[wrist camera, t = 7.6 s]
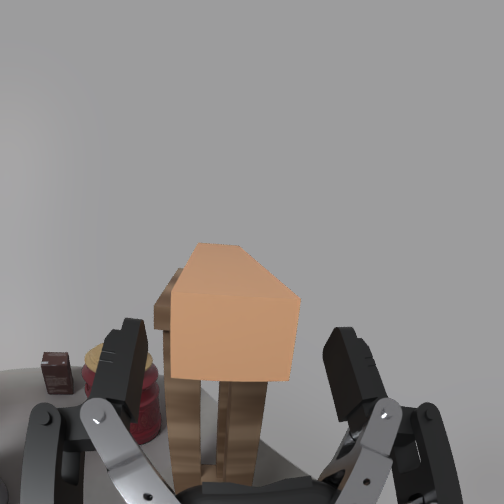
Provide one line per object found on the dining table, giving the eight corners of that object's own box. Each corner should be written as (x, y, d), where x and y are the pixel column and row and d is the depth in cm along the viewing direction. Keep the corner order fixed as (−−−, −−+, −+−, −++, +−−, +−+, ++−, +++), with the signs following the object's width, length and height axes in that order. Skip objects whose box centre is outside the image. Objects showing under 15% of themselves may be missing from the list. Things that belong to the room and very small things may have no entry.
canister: (107, 455, 32) (86, 362, 30) (85, 410, 41) (70, 327, 39) (175, 436, 41) (172, 349, 39) (143, 399, 50) (138, 320, 48)
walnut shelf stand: (246, 541, 20) (286, 313, 17) (179, 540, 19) (153, 305, 16) (234, 470, 34) (253, 273, 31) (181, 468, 33) (178, 268, 30)
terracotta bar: (288, 380, 9) (300, 298, 9) (170, 377, 9) (171, 291, 8) (236, 275, 29) (238, 245, 29) (196, 272, 28) (198, 242, 28)
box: (73, 380, 50) (68, 352, 49) (73, 395, 44) (67, 365, 44) (49, 380, 46) (43, 351, 46) (47, 394, 41) (40, 364, 41)
